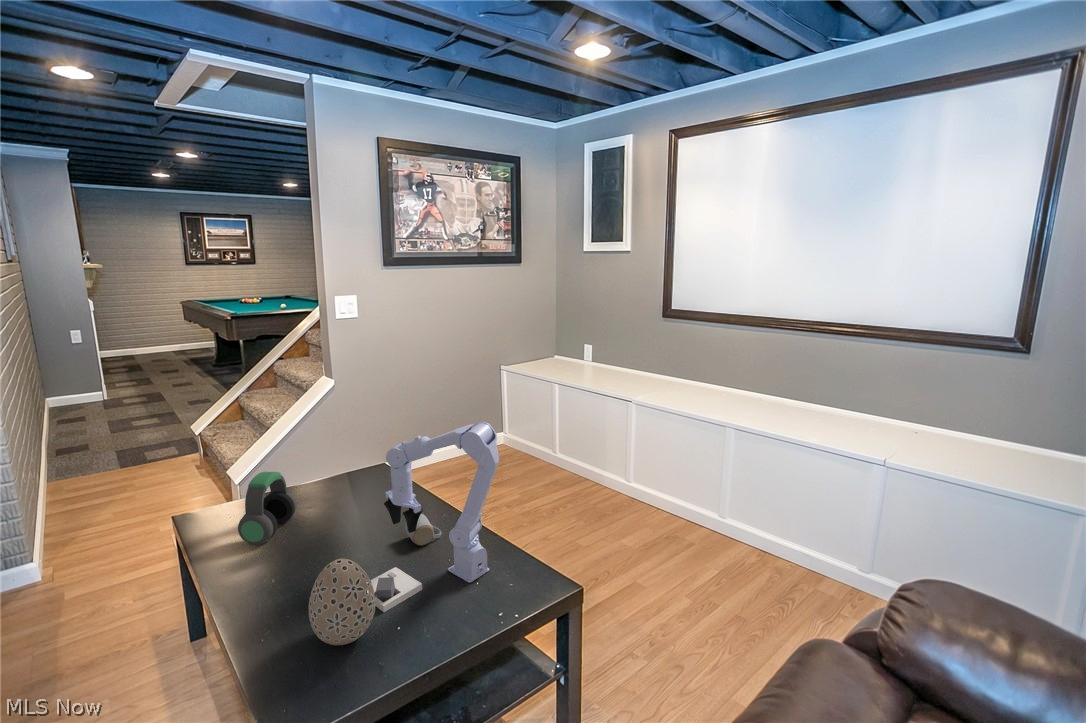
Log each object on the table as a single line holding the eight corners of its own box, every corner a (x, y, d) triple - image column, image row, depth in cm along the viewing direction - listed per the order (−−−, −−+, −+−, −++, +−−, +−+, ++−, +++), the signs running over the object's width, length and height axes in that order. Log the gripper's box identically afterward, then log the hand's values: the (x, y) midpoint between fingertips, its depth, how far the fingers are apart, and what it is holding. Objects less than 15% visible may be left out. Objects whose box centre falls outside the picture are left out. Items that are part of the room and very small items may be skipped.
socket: (422, 589, 143) (421, 582, 142) (384, 612, 134) (383, 605, 133) (395, 572, 150) (395, 566, 150) (358, 593, 141) (357, 586, 141)
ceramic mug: (413, 550, 162) (412, 527, 160) (404, 538, 168) (404, 515, 167) (445, 540, 167) (445, 518, 166) (436, 529, 174) (435, 508, 173)
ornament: (356, 608, 135) (350, 537, 131) (389, 634, 126) (385, 559, 122) (300, 640, 124) (292, 564, 120) (332, 671, 115) (325, 590, 111)
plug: (395, 589, 141) (393, 577, 139) (392, 602, 138) (390, 589, 135) (381, 590, 141) (378, 577, 138) (378, 602, 137) (375, 590, 135)
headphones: (271, 547, 163) (265, 487, 158) (236, 547, 163) (229, 487, 159) (300, 517, 181) (295, 463, 177) (269, 517, 181) (263, 462, 177)
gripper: (428, 486, 151) (430, 529, 153) (398, 473, 160) (400, 514, 162) (408, 495, 145) (410, 539, 148) (378, 480, 154) (381, 523, 157)
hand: (404, 527), depth 155 cm, fingers open, 7 cm apart
